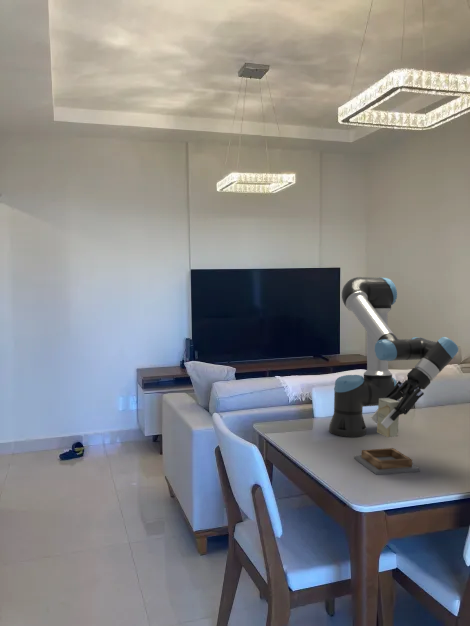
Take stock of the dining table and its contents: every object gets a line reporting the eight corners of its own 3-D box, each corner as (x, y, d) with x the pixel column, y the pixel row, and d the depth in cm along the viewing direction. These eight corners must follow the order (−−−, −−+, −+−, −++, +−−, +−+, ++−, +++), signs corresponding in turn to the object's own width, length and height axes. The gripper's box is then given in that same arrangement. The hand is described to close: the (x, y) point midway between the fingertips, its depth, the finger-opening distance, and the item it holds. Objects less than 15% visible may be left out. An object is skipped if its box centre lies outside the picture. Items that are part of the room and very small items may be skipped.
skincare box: (376, 432, 189) (377, 398, 188) (386, 431, 191) (387, 397, 190) (388, 437, 183) (389, 402, 182) (398, 436, 185) (400, 401, 184)
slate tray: (354, 458, 194) (354, 455, 194) (394, 455, 197) (394, 452, 197) (376, 474, 178) (376, 471, 178) (419, 471, 182) (419, 468, 182)
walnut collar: (361, 457, 192) (361, 450, 192) (392, 454, 195) (393, 448, 195) (378, 469, 180) (378, 461, 180) (411, 466, 183) (412, 459, 183)
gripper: (446, 387, 180) (400, 438, 177) (413, 376, 199) (371, 422, 196) (432, 372, 178) (386, 423, 175) (401, 362, 197) (358, 408, 194)
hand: (378, 422), depth 186 cm, fingers closed on skincare box, 7 cm apart
